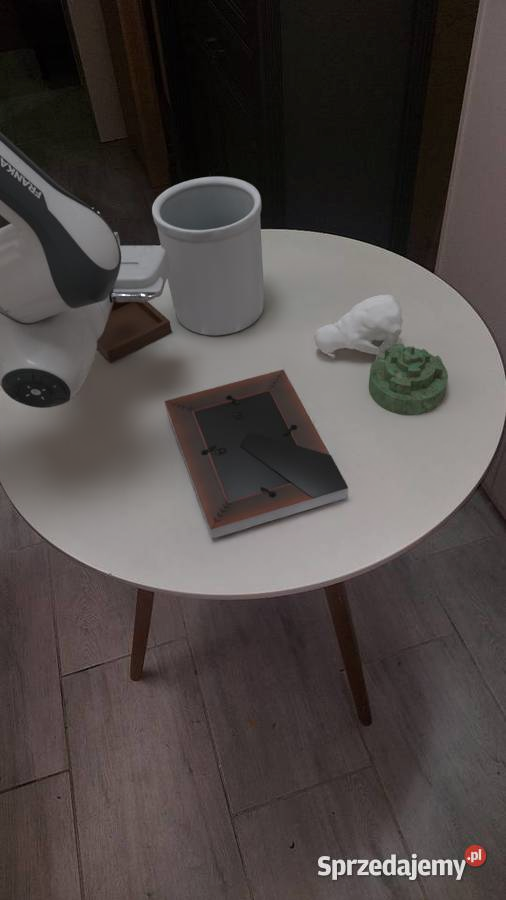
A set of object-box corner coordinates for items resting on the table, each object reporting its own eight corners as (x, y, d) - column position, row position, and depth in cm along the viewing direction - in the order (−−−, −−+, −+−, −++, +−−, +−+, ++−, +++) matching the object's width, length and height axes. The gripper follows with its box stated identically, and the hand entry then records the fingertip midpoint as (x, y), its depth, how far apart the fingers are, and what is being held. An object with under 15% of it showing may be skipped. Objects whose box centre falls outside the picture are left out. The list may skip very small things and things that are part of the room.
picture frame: (347, 499, 80) (283, 381, 93) (348, 486, 78) (283, 368, 92) (212, 541, 77) (167, 413, 91) (209, 528, 75) (164, 399, 89)
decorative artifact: (420, 355, 96) (355, 374, 94) (427, 314, 90) (359, 334, 88) (459, 401, 89) (390, 423, 87) (469, 360, 84) (396, 383, 82)
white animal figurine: (406, 310, 88) (314, 325, 89) (405, 360, 95) (319, 373, 95) (396, 282, 92) (308, 296, 93) (396, 331, 99) (313, 343, 100)
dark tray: (110, 363, 98) (107, 352, 96) (76, 327, 104) (72, 316, 102) (172, 332, 102) (170, 321, 100) (136, 299, 108) (133, 288, 106)
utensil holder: (151, 308, 106) (129, 204, 93) (224, 268, 112) (213, 164, 99) (212, 352, 98) (198, 244, 85) (286, 306, 104) (284, 199, 91)
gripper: (155, 277, 78) (174, 214, 87) (-16, 277, 80) (20, 215, 89) (164, 321, 83) (181, 257, 92) (1, 320, 85) (34, 257, 94)
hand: (100, 236), depth 90 cm, fingers closed
